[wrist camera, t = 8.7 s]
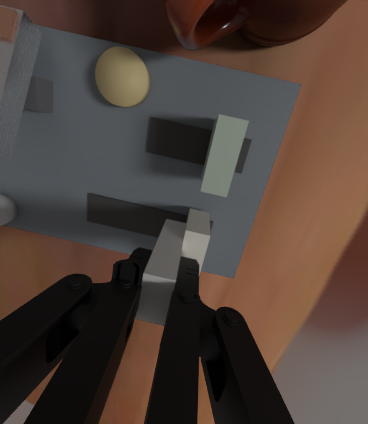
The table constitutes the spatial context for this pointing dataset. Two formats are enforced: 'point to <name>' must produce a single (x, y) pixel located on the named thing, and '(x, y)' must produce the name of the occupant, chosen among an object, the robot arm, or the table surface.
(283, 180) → the table surface
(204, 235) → the pale grey cuboid
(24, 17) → the block
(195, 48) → the mug
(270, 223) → the table surface
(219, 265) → the console
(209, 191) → the grey block
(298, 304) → the table surface
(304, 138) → the table surface
